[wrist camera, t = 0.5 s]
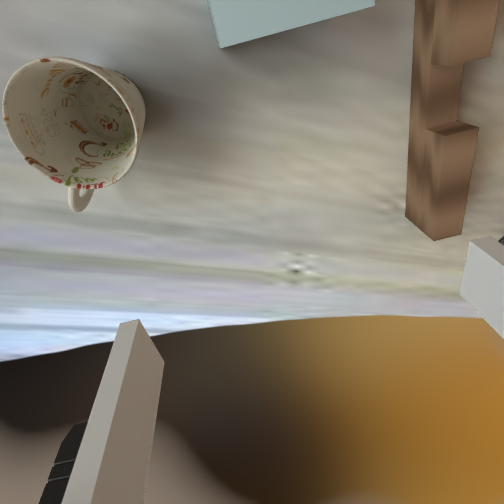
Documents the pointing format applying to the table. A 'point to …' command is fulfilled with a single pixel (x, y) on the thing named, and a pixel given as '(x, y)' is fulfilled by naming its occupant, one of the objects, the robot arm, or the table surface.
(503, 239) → the tampon box
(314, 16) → the blue-grey notched block
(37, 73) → the mug
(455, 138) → the walnut rail
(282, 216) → the table surface
